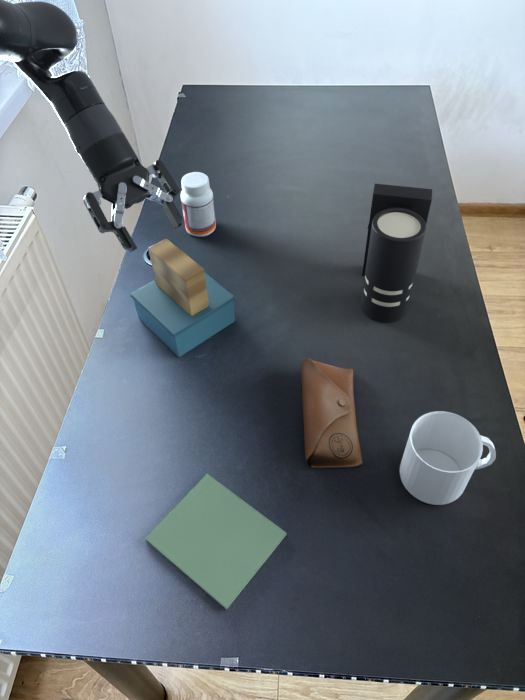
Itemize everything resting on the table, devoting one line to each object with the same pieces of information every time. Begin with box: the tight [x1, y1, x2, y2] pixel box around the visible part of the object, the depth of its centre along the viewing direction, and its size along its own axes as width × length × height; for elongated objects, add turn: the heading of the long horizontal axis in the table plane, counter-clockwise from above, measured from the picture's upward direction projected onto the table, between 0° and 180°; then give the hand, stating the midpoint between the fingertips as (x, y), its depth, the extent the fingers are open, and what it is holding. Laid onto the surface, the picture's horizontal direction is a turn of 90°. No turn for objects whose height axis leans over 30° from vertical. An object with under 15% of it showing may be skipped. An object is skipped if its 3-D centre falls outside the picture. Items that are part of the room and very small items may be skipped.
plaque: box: [147, 238, 209, 316], centre depth 96 cm, size 10×4×8 cm, turn 41°
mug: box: [399, 410, 497, 506], centre depth 79 cm, size 12×9×9 cm
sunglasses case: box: [300, 357, 363, 469], centre depth 89 cm, size 18×7×7 cm
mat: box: [145, 473, 288, 610], centre depth 78 cm, size 12×14×1 cm
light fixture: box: [360, 183, 433, 323], centre depth 99 cm, size 10×14×18 cm
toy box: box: [130, 272, 236, 358], centre depth 101 cm, size 12×12×6 cm
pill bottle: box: [180, 171, 217, 238], centre depth 115 cm, size 6×6×11 cm
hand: (156, 238), depth 94 cm, fingers open, 8 cm apart
